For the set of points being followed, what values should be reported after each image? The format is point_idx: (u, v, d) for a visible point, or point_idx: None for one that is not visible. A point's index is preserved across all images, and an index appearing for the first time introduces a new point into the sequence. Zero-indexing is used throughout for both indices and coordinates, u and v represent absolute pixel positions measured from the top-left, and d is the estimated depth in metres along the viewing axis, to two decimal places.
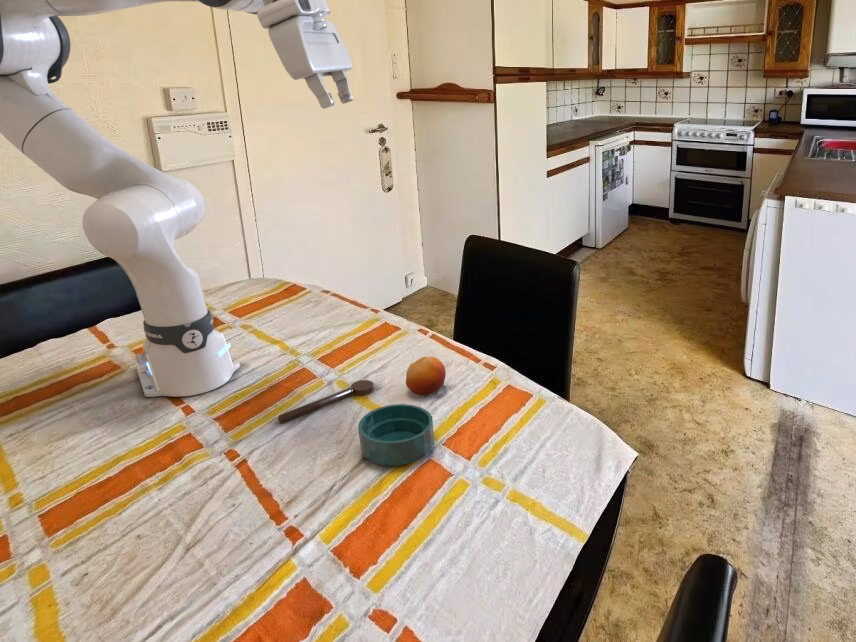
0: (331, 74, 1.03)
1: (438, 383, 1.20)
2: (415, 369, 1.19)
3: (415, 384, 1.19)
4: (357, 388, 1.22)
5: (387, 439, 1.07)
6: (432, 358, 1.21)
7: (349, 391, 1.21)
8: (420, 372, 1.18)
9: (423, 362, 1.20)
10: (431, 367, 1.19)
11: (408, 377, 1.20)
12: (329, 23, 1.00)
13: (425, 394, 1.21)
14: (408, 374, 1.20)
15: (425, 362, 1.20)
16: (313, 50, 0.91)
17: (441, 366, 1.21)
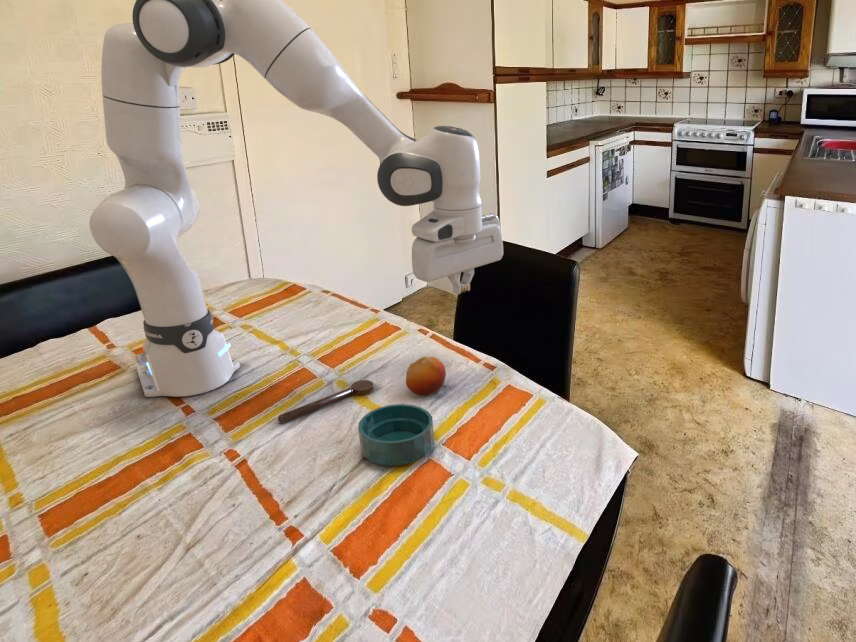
0: None
1: (438, 383, 1.20)
2: (415, 369, 1.19)
3: (415, 384, 1.19)
4: (357, 388, 1.22)
5: (387, 439, 1.07)
6: (432, 358, 1.21)
7: (349, 391, 1.21)
8: (420, 372, 1.18)
9: (423, 362, 1.20)
10: (431, 367, 1.19)
11: (408, 377, 1.20)
12: (489, 228, 1.19)
13: (425, 394, 1.21)
14: (408, 374, 1.20)
15: (425, 362, 1.20)
16: (442, 263, 1.13)
17: (441, 366, 1.21)
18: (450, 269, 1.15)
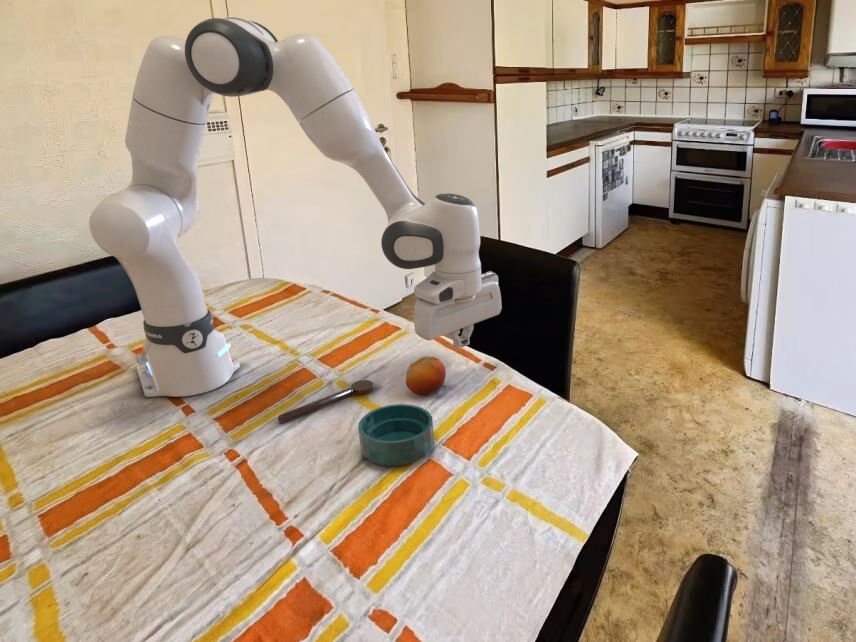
0: None
1: (438, 383, 1.20)
2: (415, 369, 1.19)
3: (415, 384, 1.19)
4: (357, 388, 1.22)
5: (387, 439, 1.07)
6: (432, 358, 1.21)
7: (349, 391, 1.21)
8: (420, 372, 1.18)
9: (423, 362, 1.20)
10: (431, 367, 1.19)
11: (408, 377, 1.20)
12: (488, 286, 1.24)
13: (425, 394, 1.21)
14: (408, 374, 1.20)
15: (425, 362, 1.20)
16: (443, 322, 1.18)
17: (441, 366, 1.21)
18: (450, 327, 1.20)
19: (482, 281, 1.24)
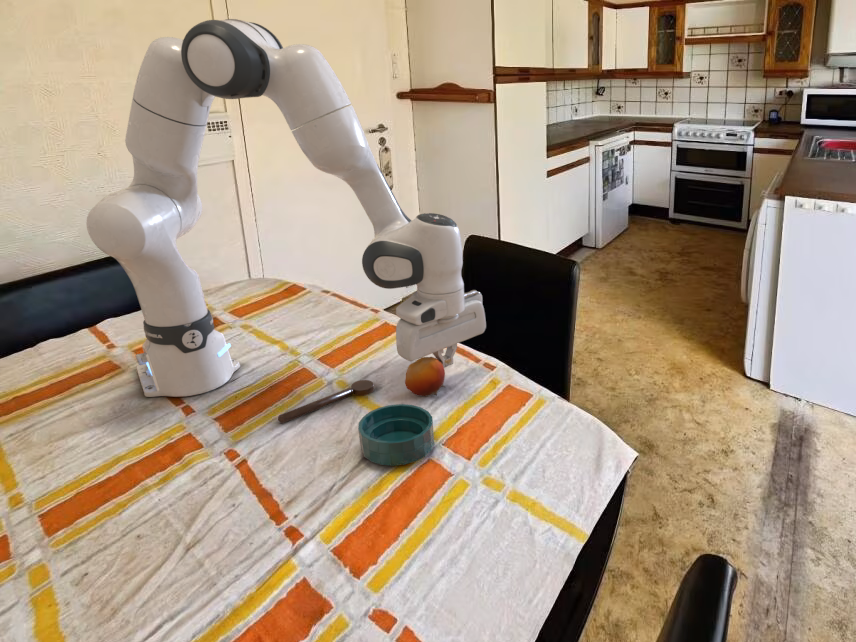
0: None
1: (437, 384, 1.20)
2: (414, 370, 1.19)
3: (415, 384, 1.19)
4: (357, 388, 1.22)
5: (387, 439, 1.07)
6: (431, 358, 1.21)
7: (349, 391, 1.21)
8: (419, 372, 1.18)
9: (422, 363, 1.19)
10: (430, 368, 1.19)
11: (407, 377, 1.20)
12: (472, 305, 1.23)
13: (424, 394, 1.20)
14: (407, 374, 1.20)
15: (424, 362, 1.20)
16: (425, 342, 1.17)
17: (441, 366, 1.21)
18: (433, 347, 1.19)
19: (466, 300, 1.23)
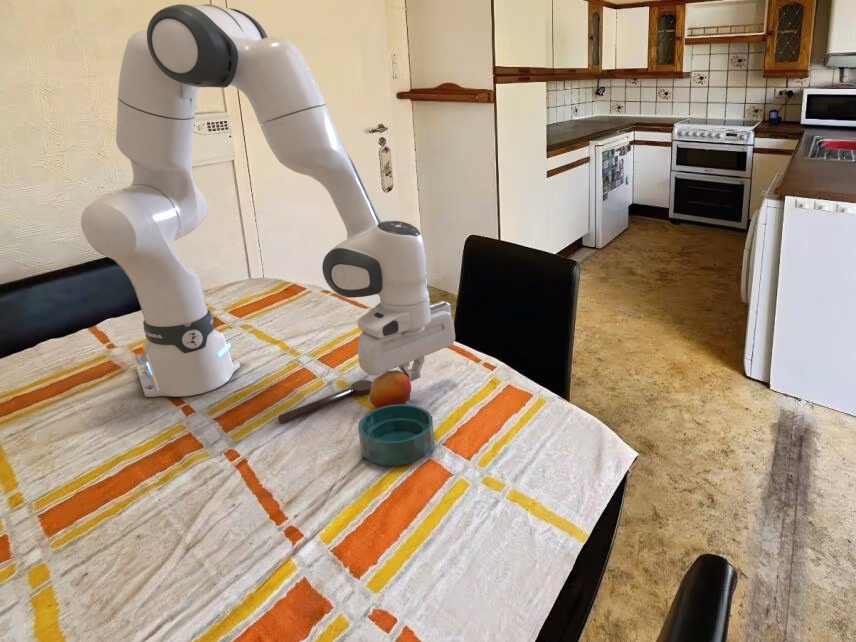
0: None
1: (403, 398, 1.15)
2: (378, 385, 1.14)
3: (379, 400, 1.14)
4: (357, 388, 1.22)
5: (387, 439, 1.07)
6: (396, 372, 1.16)
7: (349, 391, 1.21)
8: (383, 387, 1.13)
9: (387, 377, 1.14)
10: (395, 382, 1.13)
11: (371, 393, 1.14)
12: (439, 317, 1.18)
13: None
14: (371, 390, 1.15)
15: (388, 376, 1.14)
16: (389, 356, 1.12)
17: (406, 380, 1.16)
18: (398, 361, 1.14)
19: (433, 311, 1.18)
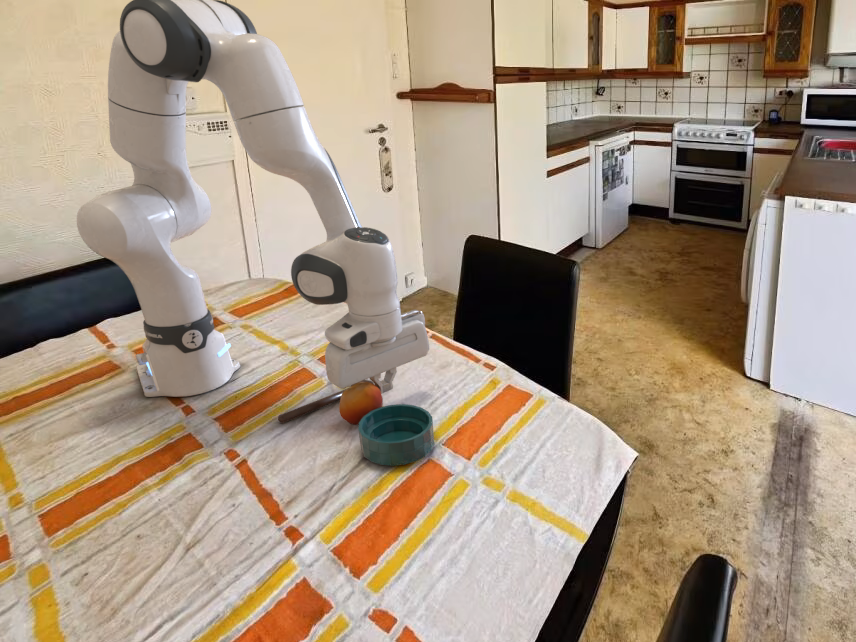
0: None
1: None
2: (348, 397, 1.09)
3: (348, 413, 1.09)
4: None
5: (387, 439, 1.07)
6: (367, 384, 1.12)
7: None
8: (353, 400, 1.09)
9: (356, 390, 1.10)
10: (365, 395, 1.09)
11: (340, 406, 1.10)
12: (411, 326, 1.13)
13: None
14: (340, 403, 1.10)
15: (358, 389, 1.10)
16: (358, 368, 1.08)
17: (377, 392, 1.11)
18: (368, 372, 1.10)
19: (405, 321, 1.14)
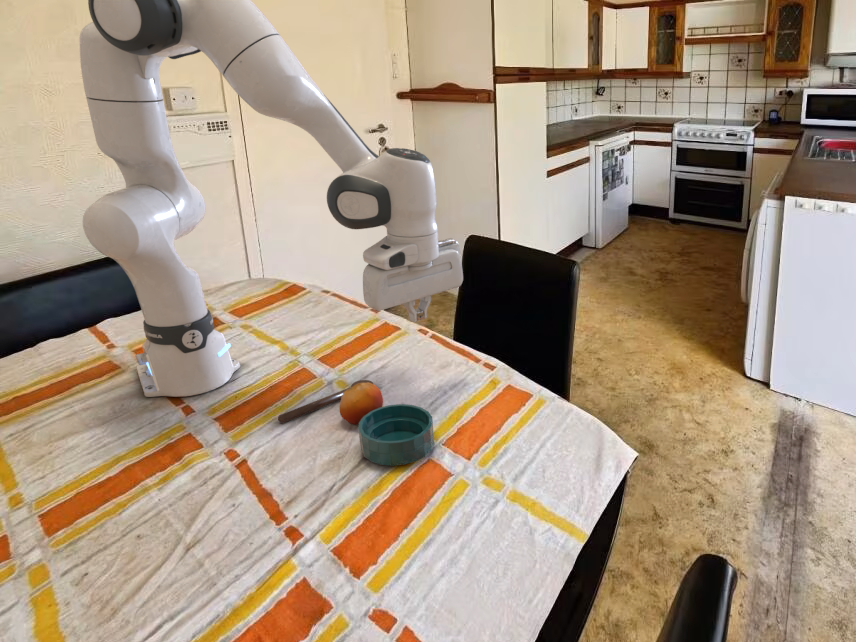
0: None
1: None
2: (348, 397, 1.09)
3: (349, 413, 1.09)
4: None
5: (387, 439, 1.07)
6: (368, 384, 1.12)
7: None
8: (353, 400, 1.09)
9: (357, 390, 1.10)
10: (366, 395, 1.09)
11: (341, 406, 1.10)
12: (447, 254, 1.14)
13: None
14: (341, 402, 1.10)
15: (359, 389, 1.10)
16: (394, 291, 1.08)
17: (378, 393, 1.12)
18: (404, 297, 1.10)
19: (441, 249, 1.14)
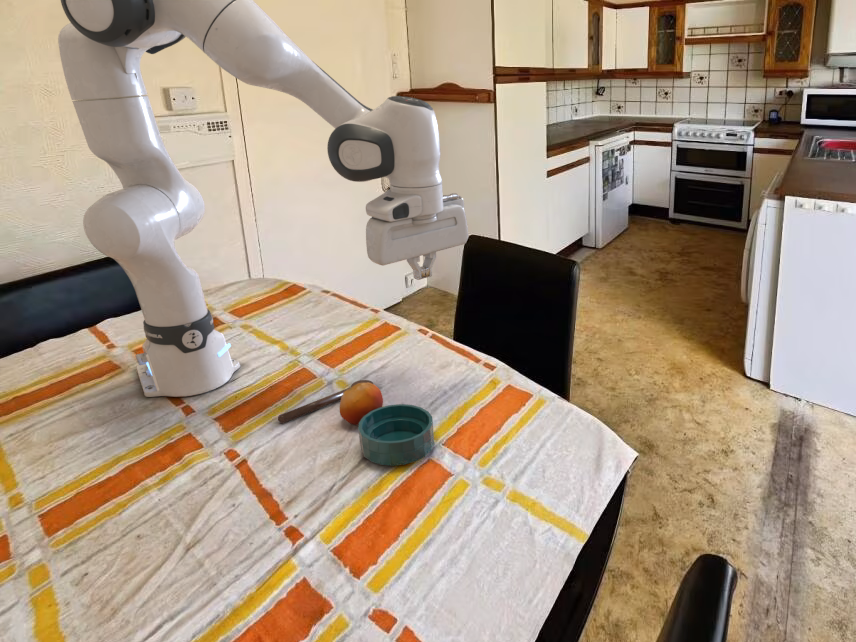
0: None
1: None
2: (348, 397, 1.09)
3: (349, 413, 1.09)
4: None
5: (387, 439, 1.07)
6: (368, 384, 1.12)
7: None
8: (353, 400, 1.09)
9: (357, 390, 1.10)
10: (366, 395, 1.09)
11: (341, 406, 1.10)
12: (452, 209, 1.11)
13: None
14: (341, 402, 1.10)
15: (359, 389, 1.10)
16: (398, 245, 1.05)
17: (378, 393, 1.12)
18: (408, 252, 1.07)
19: (445, 203, 1.11)
